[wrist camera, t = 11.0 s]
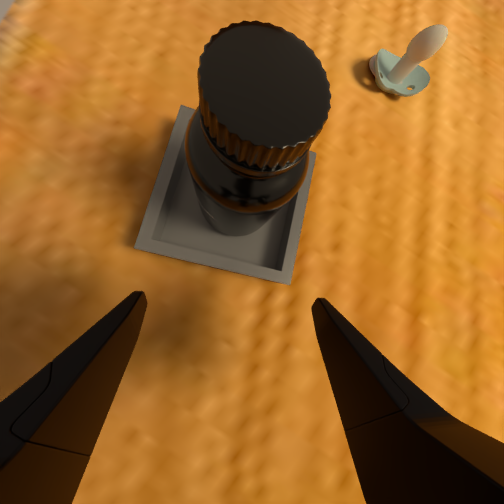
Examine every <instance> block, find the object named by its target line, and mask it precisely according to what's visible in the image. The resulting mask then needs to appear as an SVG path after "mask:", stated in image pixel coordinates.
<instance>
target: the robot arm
mask: <svg viewBox="0 0 504 504" xmlns="http://www.w3.org/2000/svg"><path fill="white" fill-rule="evenodd" d="M146 308H147V299H146V296H145V293H144V292H143V291H134V292H132V293H131V294H130V295H129V296H128V297H126V298H125V299H124V300H123V301H122V302H121V303H119V304H118V305H117V306H116V307H115V308H113V309H112V310H111V311H110V312H109V313H108V314H106V315H105V316H104V317H103V318H102V319H100V320H99V321H98V322H97V323H96V324H95V325H93V326H92V327H91V328H90V329H89V330H88V331H86V332H85V333H84V334H83V335H82V336H80V337H79V338H78V339H77V340H76V341H75V342H73V343H72V344H71V345H70V346H69V347H67V348H66V349H65V350H64V351H63V352H62V353H60V354H59V355H58V356H57V357H56V358H54V359H53V361H52V362H50V363H48V364H47V365H46V366H45V367H44V368H43V369H41V370H40V371H39V372H38V373H37V374H35V375H34V376H33V377H32V378H30V379H29V380H28V381H27V382H26V383H24V384H23V385H22V386H21V387H19V388H18V389H17V390H16V391H14V392H13V393H12V394H10V395H9V396H8V397H7V398H5V399H4V400H3V401H1V402H0V504H72V502H73V499H74V497H75V494H76V492H77V489H78V487H79V484H80V482H81V479H82V477H83V474H84V472H85V469H86V467H87V464H88V462H89V459H90V456H91V454H92V451H93V449H94V447H95V444H96V442H97V439H98V437H99V434H100V432H101V429H102V427H103V424H104V422H105V419H106V417H107V414H108V412H109V409H110V407H111V404H112V402H113V399H114V397H115V394H116V392H117V389H118V387H119V384H120V382H121V379H122V377H123V374H124V372H125V369H126V367H127V364H128V362H129V359H130V357H131V354H132V352H133V349H134V347H135V344H136V342H137V339H138V336H139V333H140V330H141V326H142V322H143V319H144V315H145V311H146ZM312 315H313V321H314V326H315V331H316V336H317V340H318V343H319V347H320V350H321V353H322V357H323V360H324V363H325V367H326V370H327V374H328V377H329V380H330V384H331V387H332V390H333V394H334V397H335V401H336V404H337V407H338V411H339V414H340V417H341V421H342V424H343V428H344V431H345V435H346V438H347V441H348V445H349V448H350V452H351V455H352V458H353V462H354V465H355V468H356V472H357V475H358V479H359V482H360V485H361V489H362V492H363V495H364V498H365V501H366V504H504V443H502V442H500V441H498V440H496V439H494V438H492V437H490V436H488V435H486V434H484V433H482V432H481V431H479V430H477V429H475V428H473V427H471V426H469V425H467V424H465V423H463V422H461V421H460V420H458V419H457V418H455V417H454V416H452V415H451V414H449V413H448V412H447V411H445V410H444V409H443V408H442V407H441V406H439V405H438V404H437V403H436V402H435V401H434V400H433V399H431V398H430V397H429V396H428V395H427V394H426V393H424V392H423V391H422V390H421V389H420V388H419V387H418V386H416V385H415V384H414V383H413V382H412V381H411V380H410V379H408V378H407V377H406V376H405V375H404V374H403V373H402V372H401V371H400V370H398V369H397V368H396V367H395V366H394V365H393V364H392V363H391V362H390V361H389V360H388V359H387V358H386V357H385V356H384V355H382V353H381V352H380V351H379V350H378V349H377V348H376V347H375V346H373V345H372V344H371V343H370V342H369V341H368V340H367V339H366V338H365V337H364V336H363V335H362V334H361V333H360V332H359V331H358V330H357V329H356V328H355V327H354V326H353V325H352V324H351V323H350V322H349V321H348V320H347V319H346V318H345V317H344V316H343V315H342V314H341V313H340V312H339V311H338V310H337V309H335V308H334V307H333V306H332V305H331V304H330V303H329V302H328V301H327V300H326V299H325V298H317V299H316V300H315V302H314V304H313V305H312Z"/></svg>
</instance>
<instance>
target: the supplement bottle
mask: <svg viewBox="0 0 504 504" xmlns="http://www.w3.org/2000/svg"><path fill="white" fill-rule="evenodd" d="M197 76H198V90H199V106H198V107H197V109H196V110H195V112H194V113H193V115H192V117H191V119H190V121H189V124H188V127H187V130H186V135H185V154H186V160H187V164H188V168H189V172H190V175H191V179H192V182H193V185H194V189H195V192H196V195H197V199H198V202H199V206H200V209H201V211H202V214H203V216H204V218H205V219H206V221H207V222H208V223H209V224H210V225H211V226H212V227H213V228H214V229H215V230H217V231H218V232H220V233H222V234H225V235H228V236H235V237H238V236H246V235H249V234H251V233H253V232H255V231H257V230H258V229H259V228H261V227H262V226H263V225H264V224H265V223H266V222H267V221H268V220H269V219H271V218H272V217H273V216H274V215H275V214H276V213H277V212H278V211H279V210H280V209H281V208H282V207H283V206H284V205H286V204H287V203H288V202H289V201H290V200H291V199H292V198H293V197H294V195H295V194H296V193H297V192H298V190H299V189H300V187H301V186H302V184H303V182H304V180H305V177H306V174H307V171H308V166H309V148H310V146H311V144H312V143H313V141H314V140H315V139H316V137H317V136H318V135H319V133H320V132H321V130H322V128H323V125H324V124H325V123H326V121H327V119H328V112H329V110H330V108H331V106H330V99H331V93H330V91H329V88H330V84H329V82H328V80H327V76H326V72H325V70H324V69H323V68H322V65H321V61H320V60H319V59H318V58H317V57H316V56H315V54H314V52H313V50H311V49H310V48H309V47H307V45H306V44H305V42H304V41H302V40H300V39H298V38H297V37H296V36H295V35H294V34H293V33H291V32H287V31H286V30H285V29H283V28H282V27H278V26H274V25H272V24H270V23H262V22H259V21H252V22H248V21H242V22H240V23H232V24H230V25H229V26H228V27H226V28H221V29H220V30H219V32H218V33H217V34H215V35H213V36H211V39H210V42H209V43H207V44H206V45H204V52H203V53H202V55H201V56H200V59H199V68H198V73H197Z"/></svg>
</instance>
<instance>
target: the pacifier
mask: <svg viewBox="0 0 504 504" xmlns="http://www.w3.org/2000/svg"><path fill="white" fill-rule="evenodd" d="M447 35H448V29H447V27H446V26H444V25H433V26H430V27H428V28H426V29H424V30H422V31H421V32H419V33H418V34H417V35H416V36H415V37H414V38H413V39H412V40H411V42H410V43H409V45H408V47H407V52H406V53H405V54H404V56H403V57H402V58H400V57H398V56H396V55H394V54H392V53H390V52H388V51H387V50H385V49H380V50H379V52H378V53H377V55H374V56H373V57H372V58H371V59H370V62H369V67H370V69H371V72H372V73H373V75H374V76H375V77H376V78H375V82H376V84H377V86H378V87H379V88H380V89H381V90H383V91H385V92H387V93H390V94H397V95H399V96H404V97H407V96H413V95H415V94H417V93H419V92H420V91H422V90H423V89H424V88H425V87H426V86H427V85H428V83H429V81H430V76H429V74H428V72H427V71H426V70H425V69H424V68H423V67H421V66H419V65H418V64H419V63H420V62H421V61H424V60H426V59H428V58H429V57H431V56H432V55H434V54H435V53H436V52H437V51H438V50H439V49H440V48H441V46H442V45H443V44H444V42H445V40H446V38H447ZM407 87H410V88H412V89H413V90H408V89H407Z"/></svg>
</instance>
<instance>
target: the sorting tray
mask: <svg viewBox="0 0 504 504" xmlns="http://www.w3.org/2000/svg"><path fill="white" fill-rule="evenodd" d="M194 112H195V109H192V108H189V107H186V106H183V105H181V106H180V109H179V112H178V115H177V118H176V121H175V124H174V127H173V131H172V134H171V137H170V140H169V143H168V146H167V149H166V152H165V155H164V158H163V161H162V164H161V167H160V170H159V173H158V176H157V179H156V182H155V185H154V188H153V191H152V194H151V197H150V200H149V203H148V207H147V210H146V213H145V216H144V219H143V222H142V225H141V228H140V231H139V234H138V237H137V240H136V243H135V246H134V248H135V249H139V250H143V251H146V252H151V253H155V254H159V255H163V256H168V257H172V258H176V259H180V260H185V261H189V262H193V263H197V264H201V265H206V266H210V267H214V268H218V269H223V270H227V271H231V272H235V273H240V274H244V275H248V276H252V277H257V278H261V279H265V280H269V281H273V282H278V283H282V284H287V285H290V283H291V278H292V273H293V268H294V263H295V258H296V253H297V248H298V243H299V238H300V233H301V228H302V223H303V218H304V213H305V208H306V203H307V198H308V193H309V188H310V183H311V178H312V173H313V168H314V163H315V158H316V153H315V152H312V151H309V166H308V171H307V174H306V177H305V180H304V182H303V184H302V186H301V187H300V189H299V190H298V192H297V193H296V194H295V195H294V197H293V198H292V199H291V200H290V201H289V202H288V203H287V204H286V205H284V206H283V207H282V208H281V209H280V210H279V211H278V212H277V213H276V214H275V215H274V216H273V217H272V218H271V219H269V220H268V221H267V222H266V223H265V224H264V225H263V226H262V227H261V228H259V229H258V230H257V231H255V232H253V233H251V234H249V235H246V236H238V237H235V236H228V235H225V234H222V233H220V232H218V231H217V230H215V229H214V228H213V227H212V226H211V225H210V224H209V223H208V222H207V221H206V219H205V218H204V216H203V214H202V211H201V209H200V206H199V202H198V199H197V195H196V192H195V189H194V185H193V182H192V179H191V175H190V172H189V168H188V164H187V160H186V154H185V135H186V130H187V127H188V124H189V121H190V119H191V117H192V115H193V113H194Z"/></svg>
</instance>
